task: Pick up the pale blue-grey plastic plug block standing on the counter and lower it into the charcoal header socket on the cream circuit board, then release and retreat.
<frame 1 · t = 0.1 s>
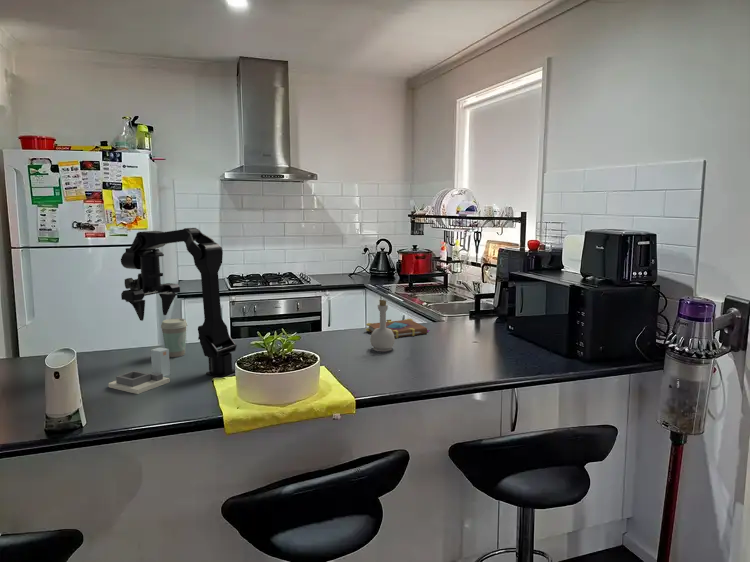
hand: (153, 317, 174), 15 cm above the countertop, fingers open, 9 cm apart
coffee cup: (175, 355, 183), on the countertop
potion bottle: (382, 349, 190), on the countertop
book: (400, 333, 216), on the countertop
plug: (161, 375, 162), on the countertop
board: (139, 384, 153), on the countertop
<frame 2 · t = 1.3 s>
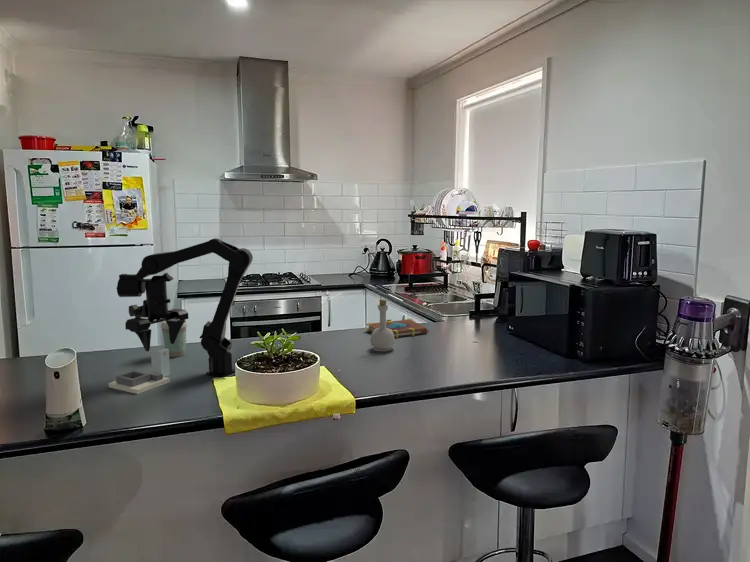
hand: (160, 347, 161), 9 cm above the countertop, fingers open, 9 cm apart
nothing on the countertop moved.
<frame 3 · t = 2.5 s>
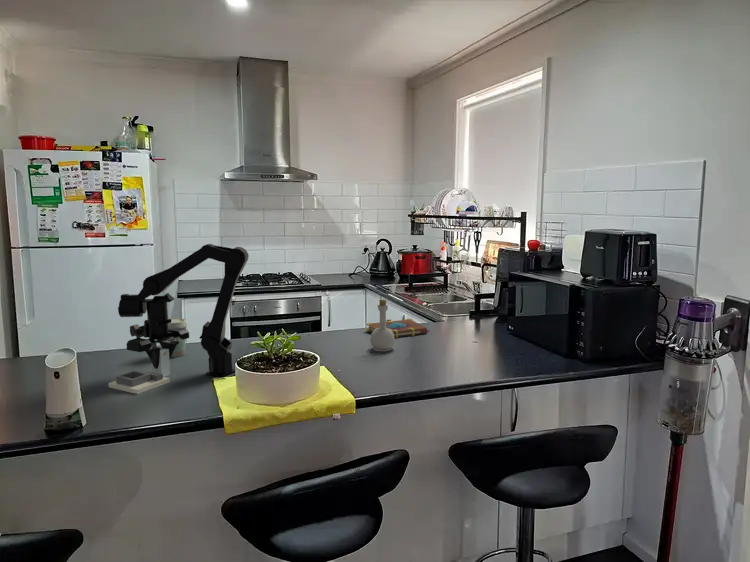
hand: (160, 366, 162), 3 cm above the countertop, fingers closed on plug, 3 cm apart
plug: (161, 374, 162), on the countertop, touching gripper
everything else where it was.
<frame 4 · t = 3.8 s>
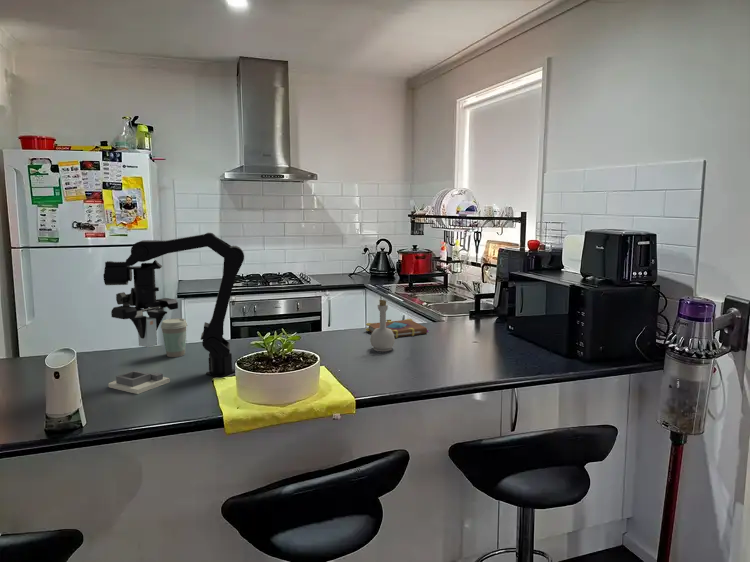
hand: (147, 336, 157), 13 cm above the countertop, fingers closed on plug, 3 cm apart
plug: (148, 345, 157), point 10 cm above the countertop, touching gripper
everything else where it was.
when the fingers open (4 cm above the countertop, at t = 5.4 s): plug stays where it is, resting on board.
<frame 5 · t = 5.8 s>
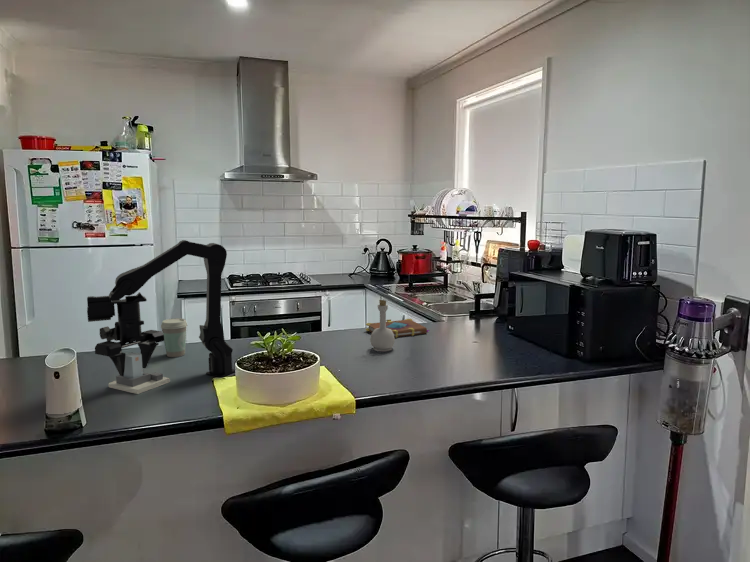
hand: (133, 371, 152), 4 cm above the countertop, fingers open, 7 cm apart
plug: (133, 381, 152), point 1 cm above the countertop, touching board
everything else where it was.
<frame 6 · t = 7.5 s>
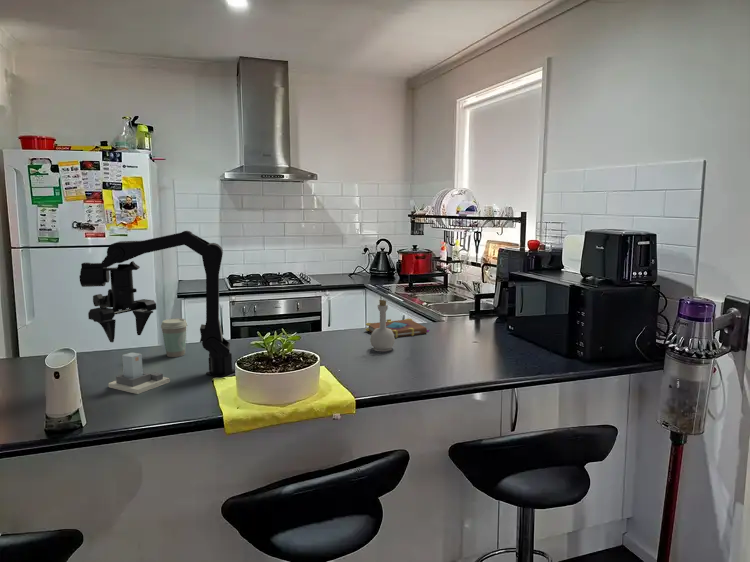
hand: (125, 338, 156), 13 cm above the countertop, fingers open, 9 cm apart
nothing on the countertop moved.
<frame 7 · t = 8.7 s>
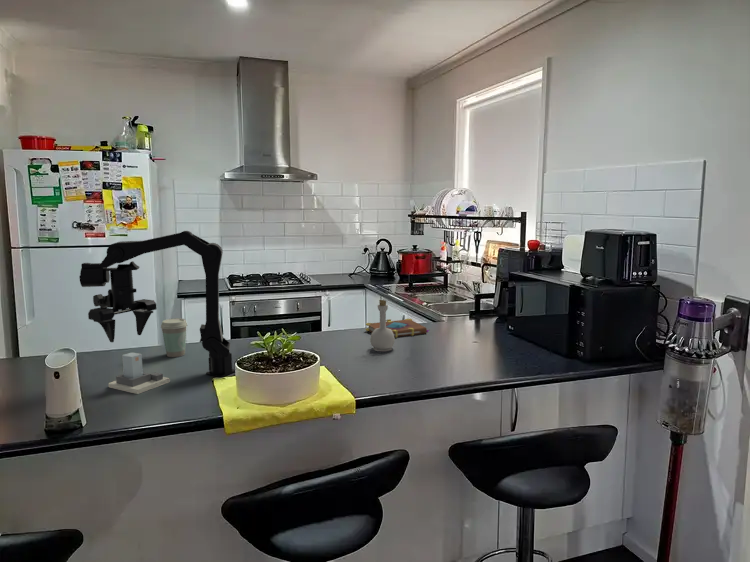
hand: (125, 338, 156), 12 cm above the countertop, fingers open, 9 cm apart
nothing on the countertop moved.
at the end: plug 0.1 cm from the target spot on the board, point 1.2 cm above the board's base; plug tilted 0°; the gripper is holding nothing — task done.
